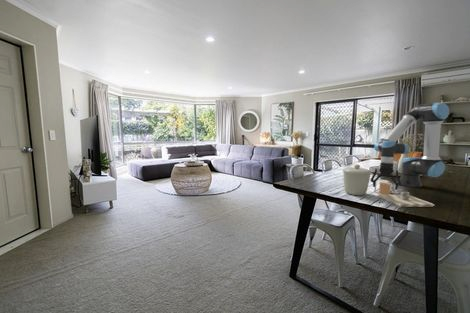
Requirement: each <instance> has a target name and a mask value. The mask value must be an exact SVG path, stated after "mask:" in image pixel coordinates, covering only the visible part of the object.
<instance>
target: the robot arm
mask: <svg viewBox="0 0 470 313" xmlns="http://www.w3.org/2000/svg"><path fill="white" fill-rule="evenodd" d="M449 116H450V108H449V106H448V105H447V104H446V103H444V102H432V103H424V104H418V105H415V106H414V107H412V108H411V109H409V110H408V111H406V113H405V114H403V116H402V117H401V118H402V119H401V120H399V122H398V123H397V124H396V125H395V126H394V127H393V129H392V130H391V131H390V132H388V134H387V135H386V136H385V137H384V139H382V140H381V141H378V142H376V143H375V144H374V146H373V148H374V150H375V151H376V152H378V153H380V154H381V155H380V163H379V165H380V166H379V168H374V173H373V174H372V175H371V176H372V177H370V179H369V182H371V183H372V187H373V188H374V189H373V191H374V192H375V193H376V191H377V182H378V180H379V179H380V178H381V177H382V176H389V177H390V178H391V180H392V181H393V191H392V194H396V190H398V186H399V185H400V186H403V187H408V188H421V187H422V185H423V184H422V183H423V182H422V181H421V176H420V175H423V176H425V177H427V176H428V177H433V178H438V177H440V176H442V175H443V173H444V172H445V169H446V164H445V163H444V162H443V161H442V158H441V157H440V156H439V154H440V140H441V126H442V123H444V122H445V120H446V119H447V118H448V117H449ZM418 121H422V123H423V124H424V125H425V126H424V139H423V153H422V154H423V155H422V156H421V157H404V158H403V159H402V163H401V164H402V166H401V175H400V177H399V171H398V170H397V169H394V160H395V159H394V158H395V155H398V154H399V155H404V154H408V153H409V151H410V146H409V144H408V143H403V142H401V143H399V142H397V141H398V140H399V139H400V138H401V136H403V134H404V133H406V131H407V130H408V129H409V128H410V127H411V126H412V125H414V124H416V123H417V122H418ZM378 172H380V173H379V174H378V175H377V173H378ZM393 173H394V174H395V176H396V179H395V178H394V176H393V175H392V174H393ZM375 177H376V178H375ZM374 178H375V179H374ZM396 180H397V181H396Z"/></svg>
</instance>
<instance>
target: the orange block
mask: <svg viewBox="0 0 470 313" xmlns="http://www.w3.org/2000/svg"><path fill="white" fill-rule="evenodd" d="M391 187H392V186H391V183H390V182H387V181H386V182H385V181H379V189H378V192H379V194H391V189H392V188H391Z"/></svg>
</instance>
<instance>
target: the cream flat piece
mask: <svg viewBox="0 0 470 313" xmlns="http://www.w3.org/2000/svg"><path fill="white" fill-rule="evenodd" d="M377 196H378V198H380V199H383V200H385V201H388V202H389V203H391V204H393V205H396V206H398V207H406V208H407V207H408V208H409V207H412V208H414V207H415V208H417V207H419V208H421V207H423V208H424V207H425V208H426V207H427V208H431V207H433V206H434V207H435V204H434V203H432V202H429V201H427V200H424V199H421V198H418V197H416V196H413V195H410V192H408V191H401V192H400V194H396V193H395V194H393V193H392V194H391V193H390V194H380V193H379V194H378V195H377ZM434 207H433V208H434Z"/></svg>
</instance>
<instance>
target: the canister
mask: <svg viewBox="0 0 470 313" xmlns="http://www.w3.org/2000/svg"><path fill="white" fill-rule="evenodd" d="M342 172H343V185H344V187H343V188H344V191H345V193H346V194H349V195H353V196H364V195H366V194H367V191H368V188H369V183H370V180H371V174H372V173H373V172H372V171H371V170H369V169H367V168H363V167H361V166H360V164H354V165H353V167H345V168H343V169H342Z"/></svg>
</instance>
